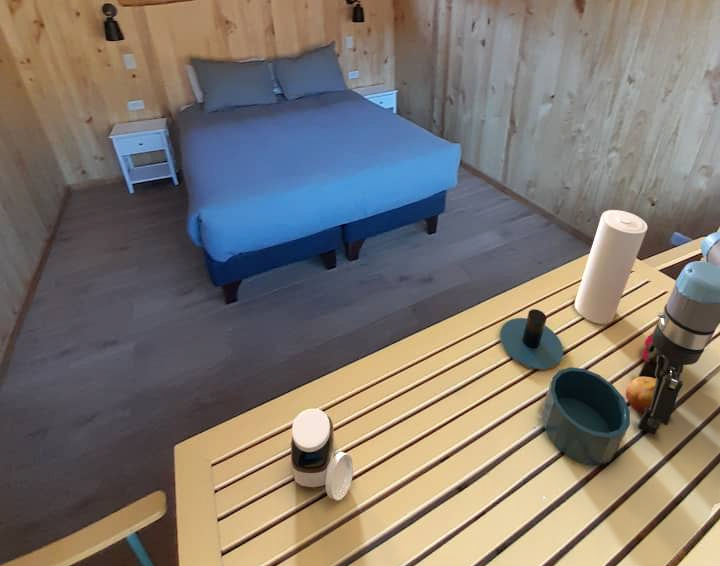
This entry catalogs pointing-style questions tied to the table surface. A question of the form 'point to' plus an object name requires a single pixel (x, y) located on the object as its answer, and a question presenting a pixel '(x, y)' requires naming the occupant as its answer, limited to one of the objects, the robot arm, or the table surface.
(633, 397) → the fruit
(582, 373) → the pot
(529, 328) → the lid
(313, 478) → the spread jar
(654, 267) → the table surface
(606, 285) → the cylinder container
